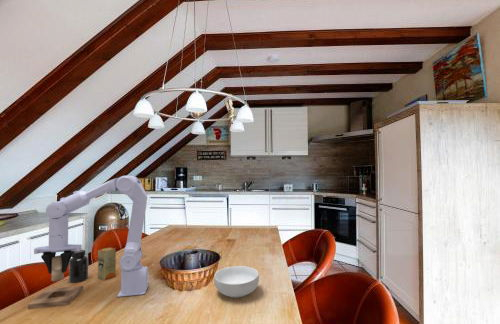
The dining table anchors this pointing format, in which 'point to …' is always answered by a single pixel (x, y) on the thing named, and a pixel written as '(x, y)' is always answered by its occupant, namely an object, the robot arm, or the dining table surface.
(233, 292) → the cereal bowl
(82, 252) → the supplement bottle
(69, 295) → the socket block
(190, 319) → the dining table surface
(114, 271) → the shoe polish box
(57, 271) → the peg
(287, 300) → the dining table surface
